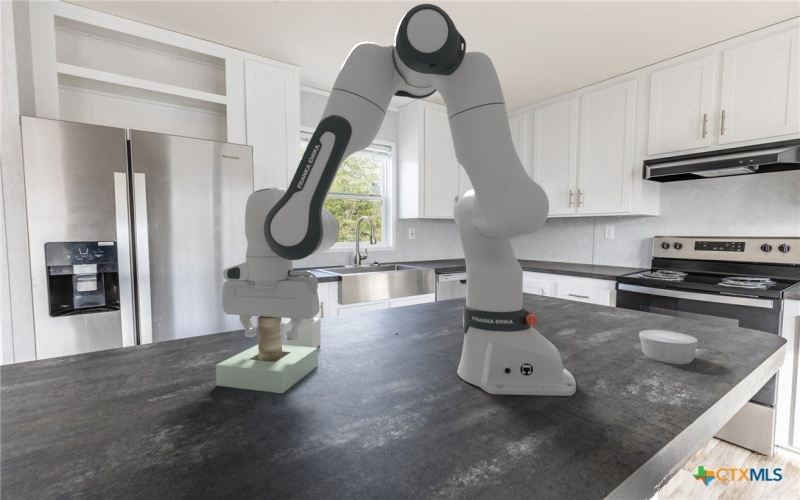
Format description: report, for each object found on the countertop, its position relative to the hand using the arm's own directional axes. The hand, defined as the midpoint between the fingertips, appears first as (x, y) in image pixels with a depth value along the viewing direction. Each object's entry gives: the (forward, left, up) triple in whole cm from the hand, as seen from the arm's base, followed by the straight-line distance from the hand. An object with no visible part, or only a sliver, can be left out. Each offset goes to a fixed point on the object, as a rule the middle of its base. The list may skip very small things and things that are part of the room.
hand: (271, 337), depth 74 cm
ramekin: (-84, -32, -8) cm, 90 cm away
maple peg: (0, 0, -8) cm, 8 cm away
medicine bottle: (+2, -17, -8) cm, 19 cm away
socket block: (0, 0, -8) cm, 8 cm away
